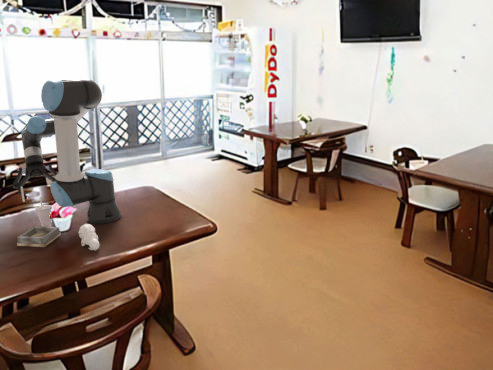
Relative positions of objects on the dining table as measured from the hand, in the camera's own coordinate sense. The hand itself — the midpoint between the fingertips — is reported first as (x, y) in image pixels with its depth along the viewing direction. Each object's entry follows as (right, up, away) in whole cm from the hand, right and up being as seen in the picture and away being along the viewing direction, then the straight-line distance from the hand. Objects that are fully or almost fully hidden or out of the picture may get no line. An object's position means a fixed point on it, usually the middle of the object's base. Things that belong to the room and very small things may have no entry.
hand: (40, 198), depth 190 cm
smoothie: (+3, -13, -1) cm, 14 cm away
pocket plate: (+7, -17, -14) cm, 23 cm away
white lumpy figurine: (+31, -19, -21) cm, 42 cm away
